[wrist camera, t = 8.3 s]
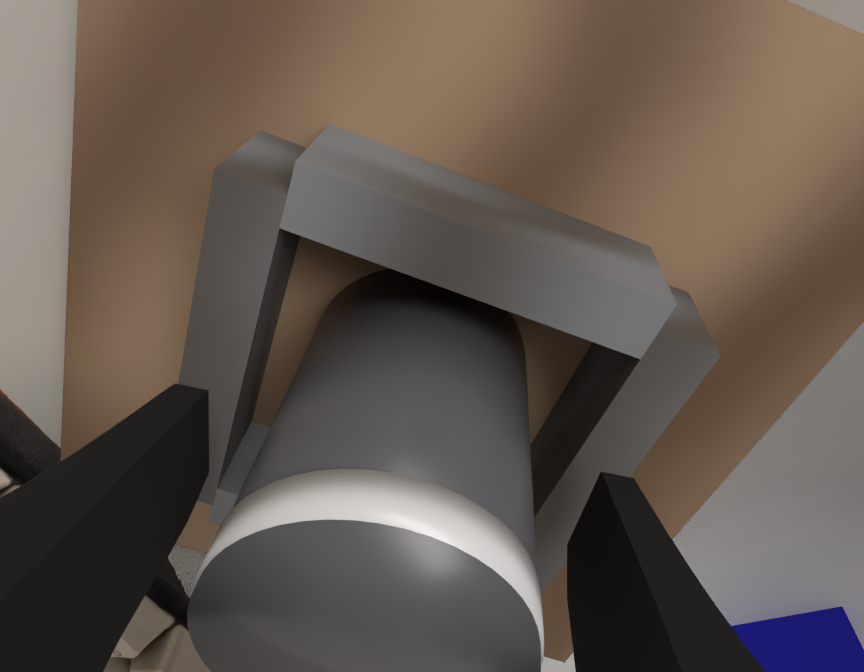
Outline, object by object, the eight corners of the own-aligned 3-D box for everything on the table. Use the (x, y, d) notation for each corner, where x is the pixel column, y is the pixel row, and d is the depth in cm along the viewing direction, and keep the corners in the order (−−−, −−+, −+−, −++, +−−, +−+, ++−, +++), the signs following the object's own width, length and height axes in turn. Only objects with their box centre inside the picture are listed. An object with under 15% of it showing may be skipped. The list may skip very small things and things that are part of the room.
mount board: (998, 98, 12) (1164, 155, 9) (561, 627, 21) (570, 739, 18) (131, -282, 10) (-24, -369, 7) (81, 478, 20) (6, 575, 17)
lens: (550, 285, 13) (588, 568, 7) (504, 457, 16) (505, 768, 10) (316, 246, 13) (167, 498, 7) (309, 425, 16) (195, 716, 10)
